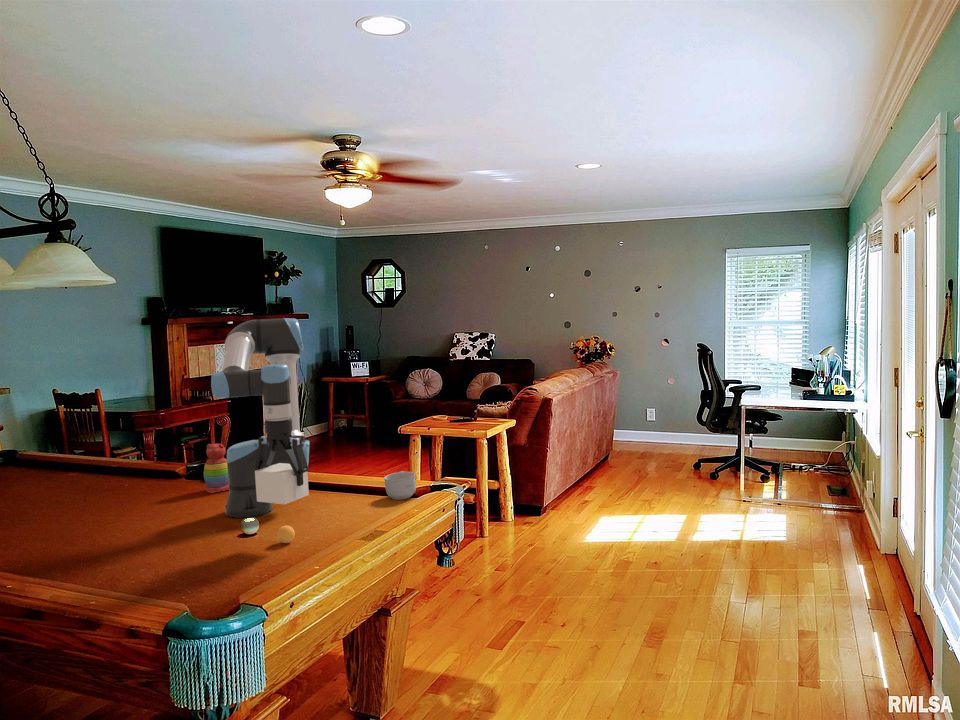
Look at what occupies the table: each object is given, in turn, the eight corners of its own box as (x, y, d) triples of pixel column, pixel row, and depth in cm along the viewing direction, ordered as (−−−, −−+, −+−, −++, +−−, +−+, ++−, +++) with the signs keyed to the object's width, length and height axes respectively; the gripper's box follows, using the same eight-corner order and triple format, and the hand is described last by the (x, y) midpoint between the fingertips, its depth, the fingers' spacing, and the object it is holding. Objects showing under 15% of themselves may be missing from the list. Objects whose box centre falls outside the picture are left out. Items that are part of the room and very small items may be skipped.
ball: (279, 521, 213) (286, 532, 216) (270, 534, 209) (277, 546, 212) (293, 522, 211) (300, 533, 214) (285, 535, 207) (292, 547, 210)
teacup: (411, 502, 249) (410, 478, 248) (380, 501, 251) (379, 478, 251) (422, 491, 263) (421, 469, 262) (393, 490, 265) (392, 469, 264)
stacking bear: (239, 486, 281) (235, 440, 280) (224, 493, 271) (220, 446, 270) (213, 486, 284) (210, 440, 282) (198, 493, 274) (194, 446, 272)
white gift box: (256, 501, 209) (254, 470, 208) (281, 492, 218) (279, 463, 217) (285, 504, 204) (282, 473, 203) (308, 494, 213) (306, 465, 213)
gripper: (238, 419, 211) (243, 495, 213) (301, 422, 201) (306, 502, 203) (256, 415, 218) (262, 489, 219) (318, 417, 208) (323, 495, 209)
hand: (283, 495), depth 211 cm, fingers closed on white gift box, 10 cm apart
